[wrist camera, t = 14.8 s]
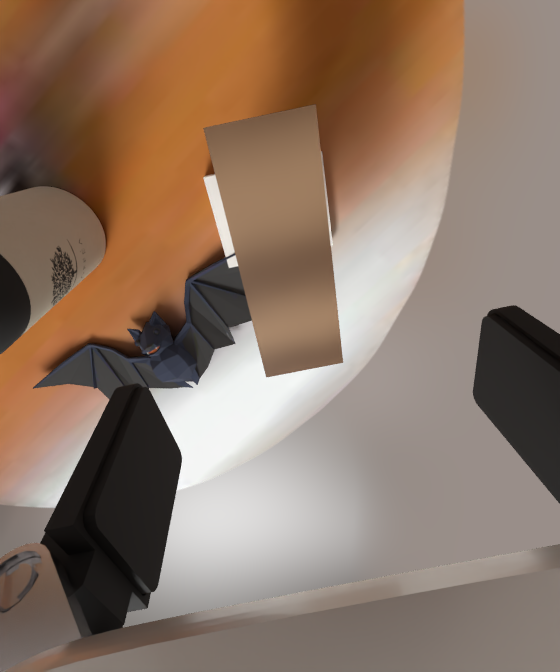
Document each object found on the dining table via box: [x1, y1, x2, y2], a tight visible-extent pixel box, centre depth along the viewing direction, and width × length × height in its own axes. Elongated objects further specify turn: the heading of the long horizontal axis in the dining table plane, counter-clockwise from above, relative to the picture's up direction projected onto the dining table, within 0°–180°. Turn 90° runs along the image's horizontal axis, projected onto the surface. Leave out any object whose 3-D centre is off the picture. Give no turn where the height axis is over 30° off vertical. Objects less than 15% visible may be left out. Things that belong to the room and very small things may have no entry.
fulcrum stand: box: [203, 151, 333, 268], centre depth 28 cm, size 8×10×9 cm
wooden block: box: [204, 104, 343, 377], centre depth 21 cm, size 14×5×6 cm, turn 10°
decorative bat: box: [33, 253, 252, 399], centre depth 37 cm, size 30×4×10 cm
